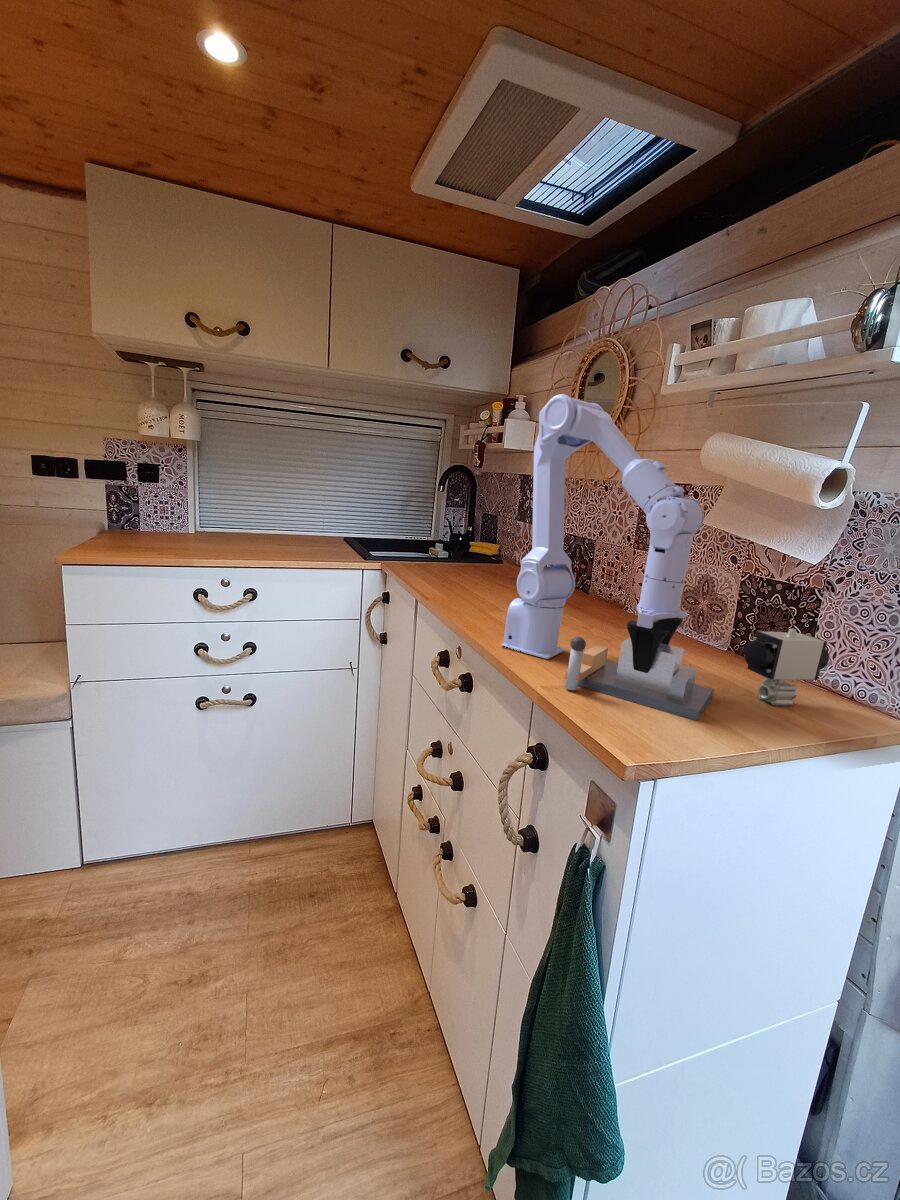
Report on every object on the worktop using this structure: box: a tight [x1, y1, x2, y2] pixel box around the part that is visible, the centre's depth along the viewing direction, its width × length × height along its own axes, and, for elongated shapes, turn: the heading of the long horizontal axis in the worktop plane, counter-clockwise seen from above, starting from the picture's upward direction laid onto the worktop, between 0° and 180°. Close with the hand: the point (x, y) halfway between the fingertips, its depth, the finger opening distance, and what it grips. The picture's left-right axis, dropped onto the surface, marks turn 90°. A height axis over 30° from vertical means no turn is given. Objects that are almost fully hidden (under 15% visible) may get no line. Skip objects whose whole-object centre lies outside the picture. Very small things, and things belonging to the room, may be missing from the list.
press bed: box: [578, 660, 714, 722], centre depth 86 cm, size 19×12×4 cm, turn 56°
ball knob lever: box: [564, 636, 609, 691], centre depth 87 cm, size 2×13×8 cm, turn 146°
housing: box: [616, 637, 685, 694], centre depth 85 cm, size 8×5×6 cm, turn 56°
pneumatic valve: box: [744, 628, 830, 707], centre depth 87 cm, size 6×12×12 cm, turn 104°
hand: (647, 665), depth 85 cm, fingers open, 7 cm apart
